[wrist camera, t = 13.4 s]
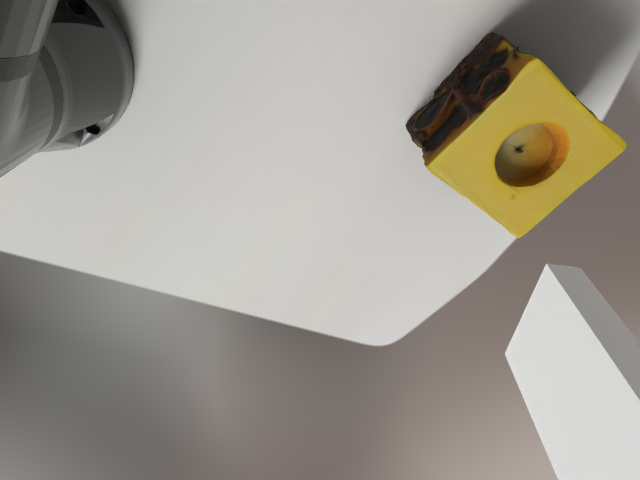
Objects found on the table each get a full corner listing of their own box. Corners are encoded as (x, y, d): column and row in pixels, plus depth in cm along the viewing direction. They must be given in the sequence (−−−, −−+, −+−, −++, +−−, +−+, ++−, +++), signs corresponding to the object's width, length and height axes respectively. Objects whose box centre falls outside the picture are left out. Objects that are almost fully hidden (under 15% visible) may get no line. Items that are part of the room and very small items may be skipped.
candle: (402, 124, 42) (419, 169, 34) (489, 27, 38) (534, 49, 29) (481, 189, 45) (516, 244, 37) (570, 105, 41) (632, 146, 32)
